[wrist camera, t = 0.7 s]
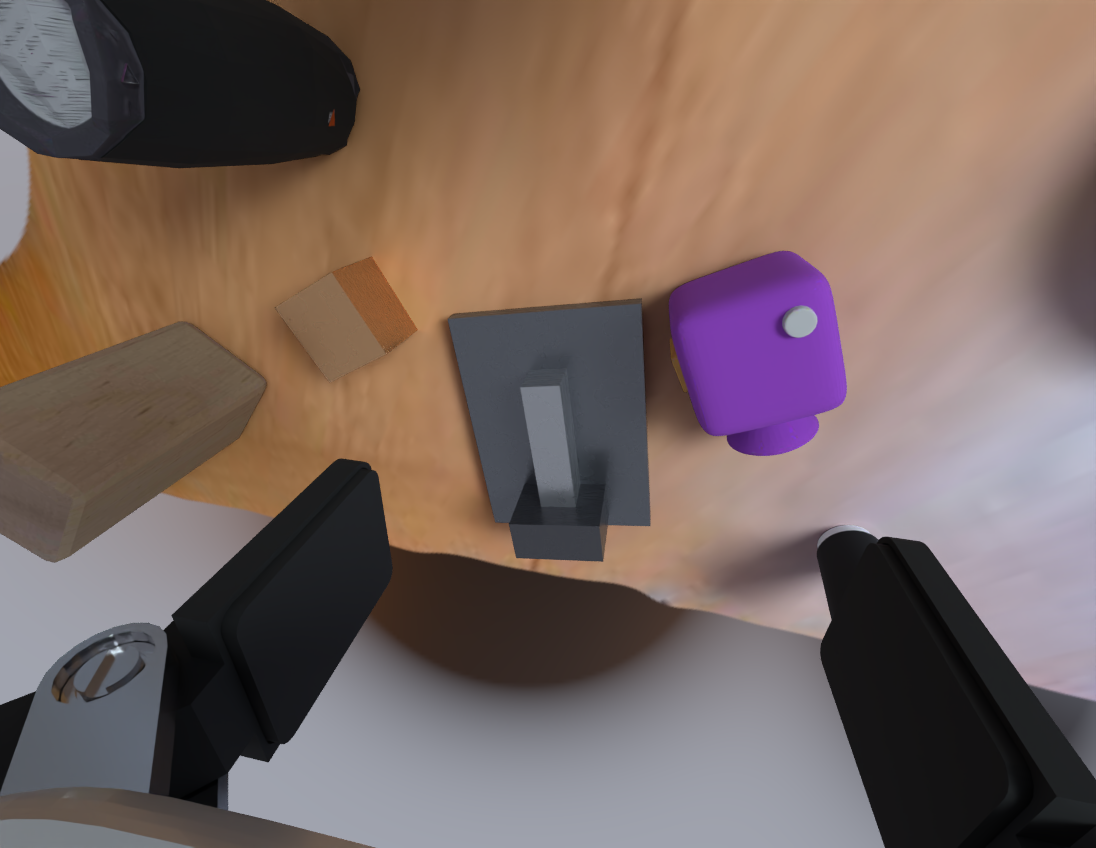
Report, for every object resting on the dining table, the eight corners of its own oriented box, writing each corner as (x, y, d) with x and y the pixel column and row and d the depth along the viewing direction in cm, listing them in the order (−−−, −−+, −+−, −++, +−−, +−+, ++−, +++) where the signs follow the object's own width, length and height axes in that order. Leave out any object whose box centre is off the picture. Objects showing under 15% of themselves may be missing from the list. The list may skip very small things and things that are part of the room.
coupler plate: (453, 313, 42) (417, 343, 36) (641, 298, 38) (638, 328, 32) (499, 513, 52) (477, 564, 46) (650, 516, 49) (649, 571, 42)
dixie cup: (892, 506, 43) (958, 605, 34) (893, 570, 46) (954, 678, 37) (795, 517, 46) (831, 613, 36) (802, 577, 49) (838, 680, 40)
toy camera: (718, 432, 43) (733, 503, 34) (643, 301, 39) (640, 345, 30) (848, 378, 38) (903, 444, 30) (780, 222, 34) (823, 247, 26)
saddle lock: (319, 288, 43) (274, 307, 38) (371, 256, 41) (331, 272, 36) (365, 356, 46) (329, 382, 41) (417, 329, 44) (386, 354, 38)
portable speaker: (393, 92, 35) (152, 43, 18) (326, 188, 39) (80, 222, 22) (298, -21, 32) (-79, -196, 16) (237, 95, 37) (-109, 54, 20)
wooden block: (186, 314, 47) (-78, 408, 30) (274, 380, 49) (73, 503, 32) (161, 380, 52) (-78, 494, 35) (242, 438, 54) (53, 572, 37)
